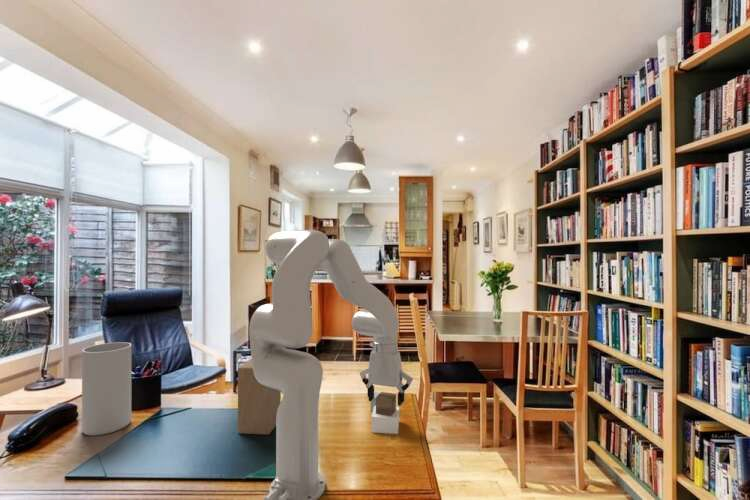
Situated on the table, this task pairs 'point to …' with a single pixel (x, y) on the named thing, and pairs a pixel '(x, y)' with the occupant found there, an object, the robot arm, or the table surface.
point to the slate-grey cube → (374, 401)
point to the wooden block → (255, 403)
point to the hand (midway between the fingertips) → (385, 401)
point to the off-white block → (385, 422)
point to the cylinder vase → (106, 387)
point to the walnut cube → (386, 403)
